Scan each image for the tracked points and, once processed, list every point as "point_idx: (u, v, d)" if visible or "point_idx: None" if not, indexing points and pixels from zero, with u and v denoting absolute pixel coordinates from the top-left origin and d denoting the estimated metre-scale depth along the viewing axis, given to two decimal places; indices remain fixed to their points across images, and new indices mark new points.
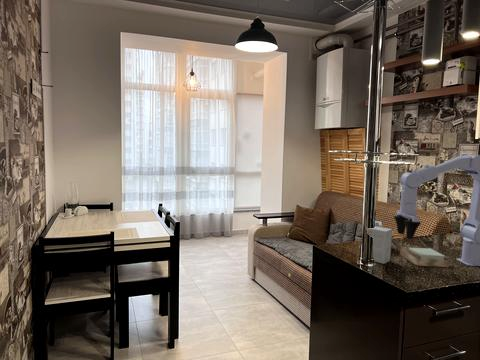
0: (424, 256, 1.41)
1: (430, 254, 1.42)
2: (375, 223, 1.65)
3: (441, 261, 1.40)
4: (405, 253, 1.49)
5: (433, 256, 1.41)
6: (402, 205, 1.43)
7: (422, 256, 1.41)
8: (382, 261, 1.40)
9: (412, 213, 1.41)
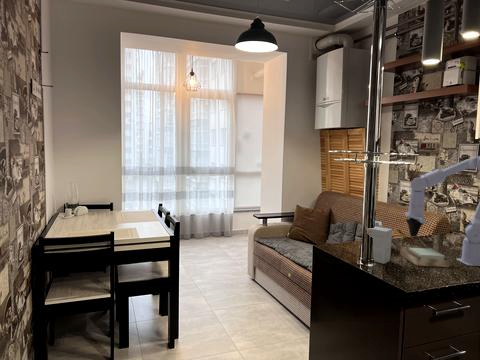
0: (424, 256, 1.41)
1: (430, 254, 1.42)
2: (375, 223, 1.65)
3: (441, 261, 1.40)
4: (405, 253, 1.49)
5: (433, 256, 1.41)
6: (411, 207, 1.54)
7: (422, 256, 1.41)
8: (382, 261, 1.40)
9: (420, 215, 1.53)
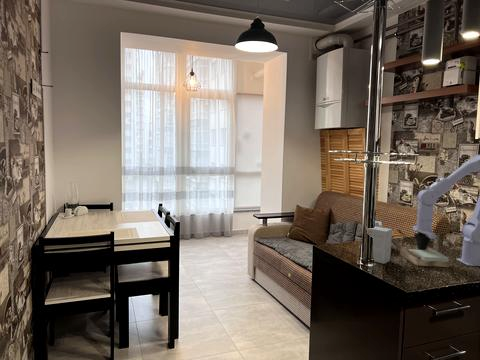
0: (428, 258, 1.38)
1: (434, 256, 1.39)
2: (375, 223, 1.65)
3: None
4: (405, 253, 1.49)
5: (437, 258, 1.38)
6: (419, 222, 1.47)
7: (426, 258, 1.38)
8: (382, 261, 1.40)
9: (429, 230, 1.45)
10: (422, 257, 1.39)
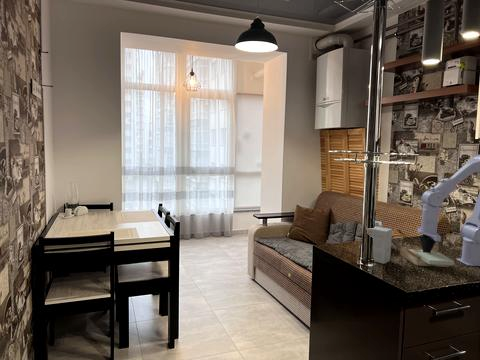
0: (433, 261, 1.34)
1: (439, 259, 1.35)
2: (375, 223, 1.65)
3: None
4: (405, 253, 1.49)
5: (442, 261, 1.34)
6: (423, 224, 1.43)
7: (431, 261, 1.34)
8: (382, 261, 1.40)
9: (434, 232, 1.42)
10: (427, 260, 1.36)
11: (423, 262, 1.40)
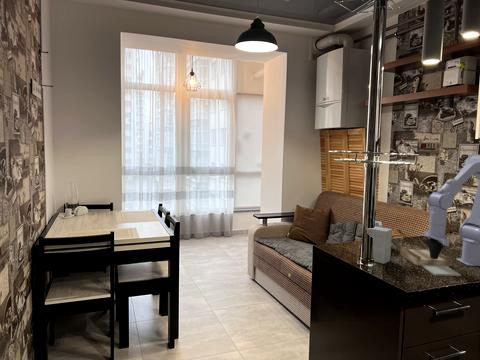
0: None
1: (445, 272, 1.31)
2: (375, 223, 1.65)
3: (441, 261, 1.40)
4: (405, 253, 1.49)
5: (449, 275, 1.30)
6: (431, 227, 1.38)
7: None
8: (382, 261, 1.40)
9: (442, 235, 1.36)
10: (433, 273, 1.31)
11: (423, 262, 1.40)
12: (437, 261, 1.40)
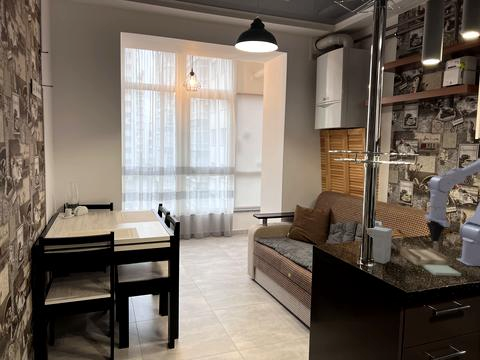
0: (439, 274, 1.30)
1: (445, 271, 1.31)
2: (375, 223, 1.65)
3: (441, 261, 1.40)
4: (405, 253, 1.49)
5: (449, 274, 1.30)
6: (432, 210, 1.40)
7: (437, 274, 1.30)
8: (382, 261, 1.40)
9: (442, 218, 1.38)
10: (433, 273, 1.31)
11: (423, 262, 1.40)
12: (437, 261, 1.40)
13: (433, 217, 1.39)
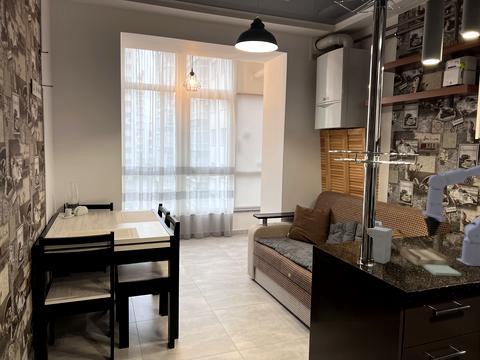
0: (439, 274, 1.30)
1: (445, 271, 1.31)
2: (375, 223, 1.65)
3: (441, 261, 1.40)
4: (405, 253, 1.49)
5: (449, 274, 1.30)
6: (429, 206, 1.49)
7: (437, 274, 1.30)
8: (382, 261, 1.40)
9: (439, 213, 1.47)
10: (433, 272, 1.31)
11: (423, 262, 1.40)
12: (437, 261, 1.40)
13: (430, 213, 1.49)
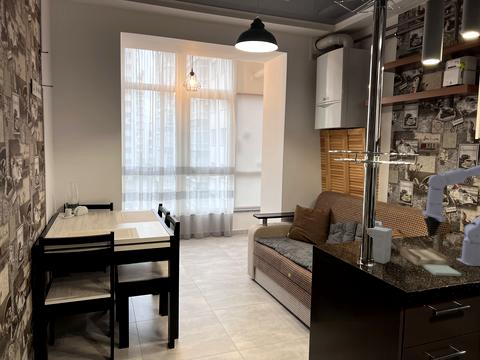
0: (439, 274, 1.30)
1: (445, 271, 1.31)
2: (375, 223, 1.65)
3: (441, 261, 1.40)
4: (405, 253, 1.49)
5: (449, 274, 1.30)
6: (429, 206, 1.49)
7: (437, 274, 1.30)
8: (382, 261, 1.40)
9: (439, 213, 1.47)
10: (433, 272, 1.31)
11: (423, 262, 1.40)
12: (437, 261, 1.40)
13: (430, 213, 1.49)
